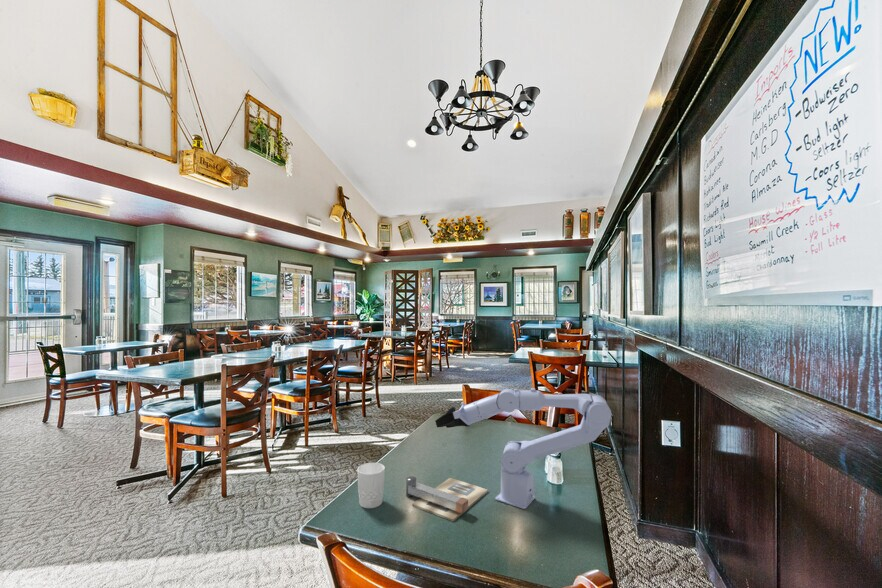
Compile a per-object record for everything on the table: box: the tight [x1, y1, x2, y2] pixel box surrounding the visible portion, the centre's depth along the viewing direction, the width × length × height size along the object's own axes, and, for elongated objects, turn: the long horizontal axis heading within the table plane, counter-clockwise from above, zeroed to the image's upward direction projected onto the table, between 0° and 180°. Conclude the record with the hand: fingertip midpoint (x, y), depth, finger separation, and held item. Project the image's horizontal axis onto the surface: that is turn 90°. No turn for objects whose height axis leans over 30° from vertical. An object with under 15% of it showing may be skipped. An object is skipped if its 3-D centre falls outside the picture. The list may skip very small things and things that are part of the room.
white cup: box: [357, 462, 386, 509], centre depth 115 cm, size 8×8×10 cm
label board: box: [411, 477, 489, 522], centre depth 117 cm, size 14×20×1 cm
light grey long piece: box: [405, 476, 468, 515], centre depth 114 cm, size 20×3×5 cm, turn 56°
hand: (441, 424), depth 124 cm, fingers open, 7 cm apart
